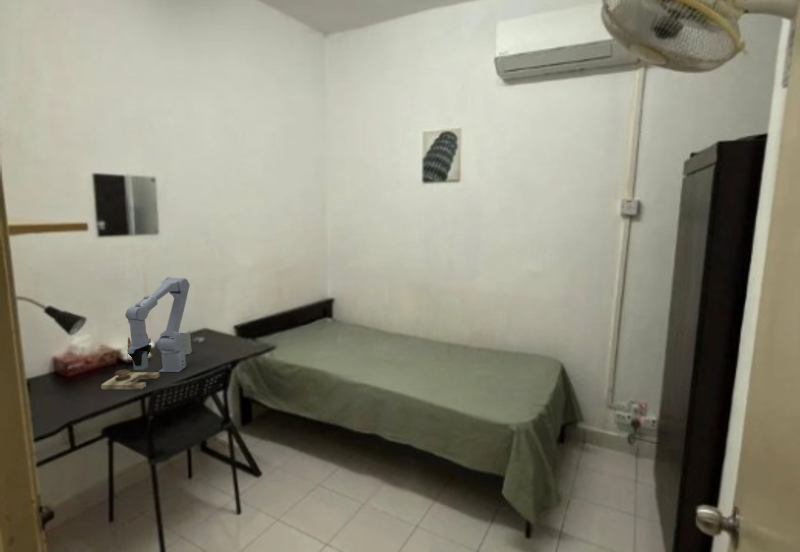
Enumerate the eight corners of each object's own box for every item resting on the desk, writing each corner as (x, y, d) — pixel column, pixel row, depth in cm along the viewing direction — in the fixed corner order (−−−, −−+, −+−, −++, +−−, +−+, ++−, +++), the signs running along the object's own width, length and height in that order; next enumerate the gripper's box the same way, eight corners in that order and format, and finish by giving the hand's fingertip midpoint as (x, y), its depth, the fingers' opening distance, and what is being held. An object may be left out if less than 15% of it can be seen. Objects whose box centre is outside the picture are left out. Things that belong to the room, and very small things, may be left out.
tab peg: (148, 366, 191) (146, 351, 190) (143, 369, 187) (141, 354, 186) (139, 366, 191) (137, 351, 189) (133, 369, 187) (132, 354, 185)
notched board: (159, 376, 197) (158, 366, 196) (142, 389, 183) (141, 378, 182) (121, 376, 196) (120, 366, 196) (101, 389, 183) (100, 378, 182)
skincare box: (191, 352, 230) (190, 330, 228) (189, 354, 226) (187, 332, 224) (179, 352, 229) (178, 330, 227) (176, 355, 225) (175, 333, 223)
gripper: (138, 329, 193) (141, 357, 195) (118, 339, 179) (121, 370, 181) (154, 329, 193) (157, 357, 196) (136, 339, 179) (138, 370, 181)
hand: (141, 363), depth 188 cm, fingers closed on tab peg, 4 cm apart
